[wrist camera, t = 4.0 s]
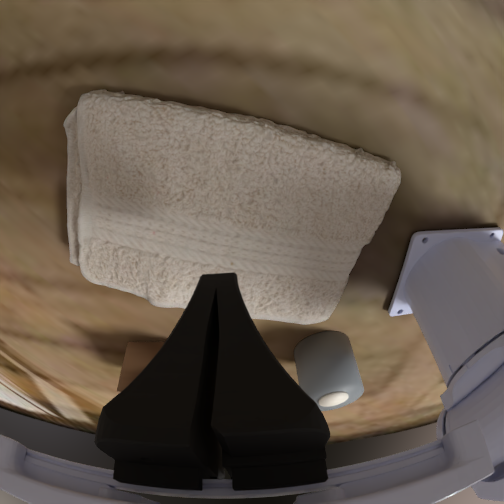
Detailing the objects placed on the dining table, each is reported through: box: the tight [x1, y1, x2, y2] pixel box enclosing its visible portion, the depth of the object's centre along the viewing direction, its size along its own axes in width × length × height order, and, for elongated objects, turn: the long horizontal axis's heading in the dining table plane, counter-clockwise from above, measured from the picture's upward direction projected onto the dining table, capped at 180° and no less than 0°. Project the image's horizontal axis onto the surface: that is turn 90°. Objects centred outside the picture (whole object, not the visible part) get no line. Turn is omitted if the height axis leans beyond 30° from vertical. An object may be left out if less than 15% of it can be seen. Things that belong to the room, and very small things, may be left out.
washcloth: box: [63, 89, 401, 325], centre depth 17 cm, size 12×18×3 cm, turn 75°
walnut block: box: [117, 342, 165, 393], centre depth 24 cm, size 5×5×5 cm
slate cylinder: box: [294, 331, 364, 411], centre depth 24 cm, size 5×5×5 cm
